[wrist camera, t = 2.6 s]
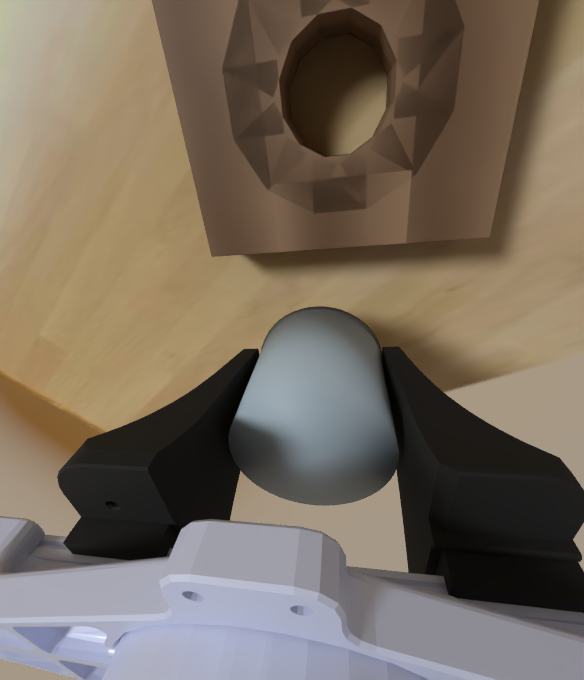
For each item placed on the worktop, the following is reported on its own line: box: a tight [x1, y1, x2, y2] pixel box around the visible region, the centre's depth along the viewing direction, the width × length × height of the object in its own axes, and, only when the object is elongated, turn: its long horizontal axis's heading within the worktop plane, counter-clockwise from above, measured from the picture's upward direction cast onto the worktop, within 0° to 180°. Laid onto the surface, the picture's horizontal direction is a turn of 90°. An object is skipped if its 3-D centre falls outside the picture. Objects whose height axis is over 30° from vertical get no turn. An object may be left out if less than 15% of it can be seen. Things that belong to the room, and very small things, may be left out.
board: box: [152, 0, 539, 257], centre depth 12 cm, size 12×11×2 cm
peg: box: [228, 307, 399, 505], centre depth 12 cm, size 5×5×7 cm
